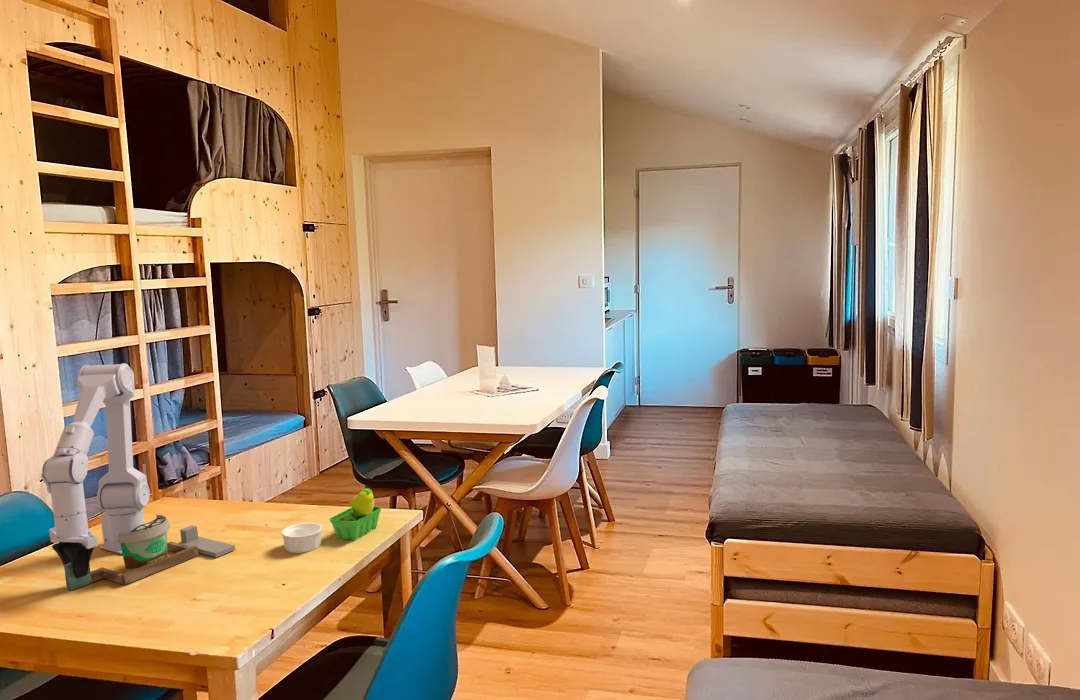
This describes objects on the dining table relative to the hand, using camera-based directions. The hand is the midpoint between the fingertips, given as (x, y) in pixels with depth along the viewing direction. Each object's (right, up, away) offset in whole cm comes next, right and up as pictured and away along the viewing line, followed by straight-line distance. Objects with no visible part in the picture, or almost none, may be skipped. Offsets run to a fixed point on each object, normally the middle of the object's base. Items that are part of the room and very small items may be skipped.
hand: (77, 575), depth 157 cm
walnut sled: (+9, -1, +6) cm, 11 cm away
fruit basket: (+53, +2, +24) cm, 58 cm away
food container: (+12, -1, +8) cm, 15 cm away
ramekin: (+42, +1, +17) cm, 45 cm away
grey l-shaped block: (+19, +1, +18) cm, 26 cm away
